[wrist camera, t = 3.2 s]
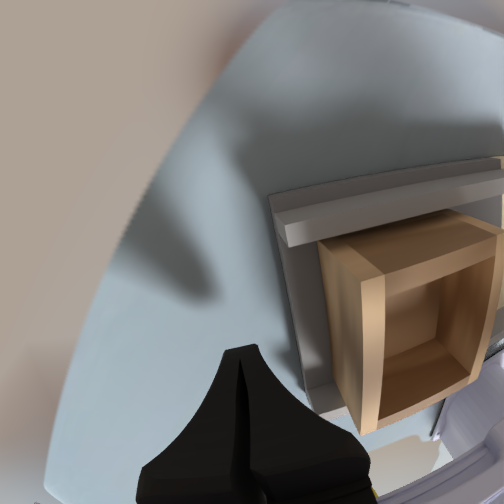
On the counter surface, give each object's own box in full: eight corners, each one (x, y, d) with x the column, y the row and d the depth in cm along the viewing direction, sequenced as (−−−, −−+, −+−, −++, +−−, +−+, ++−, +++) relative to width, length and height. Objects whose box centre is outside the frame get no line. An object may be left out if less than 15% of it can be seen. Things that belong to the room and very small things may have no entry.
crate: (443, 333, 15) (484, 373, 11) (332, 376, 15) (360, 436, 11) (452, 205, 12) (514, 228, 8) (316, 238, 12) (360, 281, 8)
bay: (501, 310, 17) (524, 327, 14) (305, 393, 17) (317, 429, 14) (512, 154, 13) (545, 160, 10) (267, 195, 13) (280, 208, 10)
